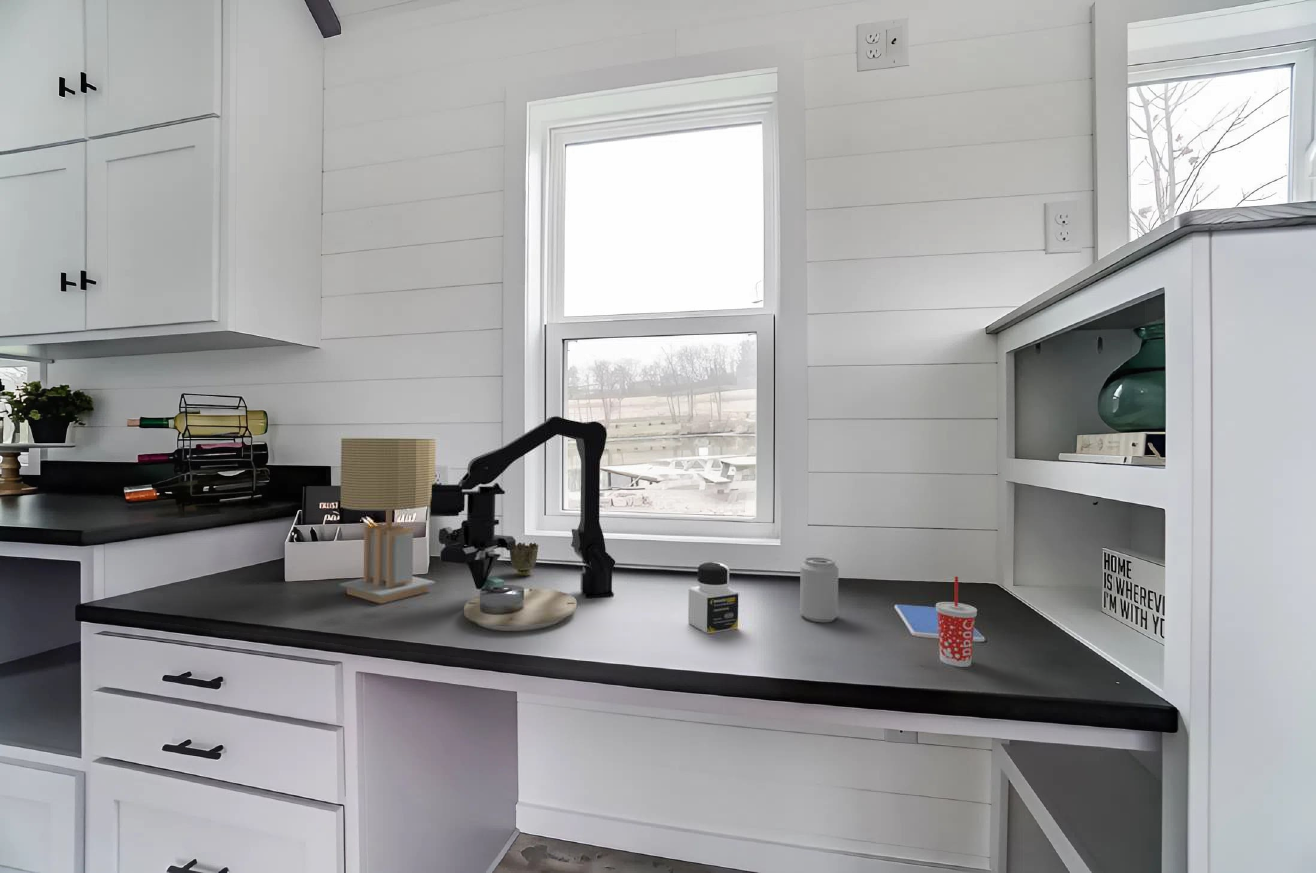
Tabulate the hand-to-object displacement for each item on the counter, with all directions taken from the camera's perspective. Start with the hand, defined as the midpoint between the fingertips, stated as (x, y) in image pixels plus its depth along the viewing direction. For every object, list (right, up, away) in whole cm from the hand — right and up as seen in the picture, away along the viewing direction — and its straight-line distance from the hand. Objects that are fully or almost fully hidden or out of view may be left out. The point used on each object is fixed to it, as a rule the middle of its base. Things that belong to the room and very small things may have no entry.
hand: (479, 588), depth 121 cm
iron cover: (+8, -1, -10) cm, 12 cm away
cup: (+3, -4, +27) cm, 27 cm away
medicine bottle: (+49, -5, -11) cm, 50 cm away
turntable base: (+11, -4, -6) cm, 13 cm away
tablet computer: (+94, -6, -7) cm, 94 cm away
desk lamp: (-24, -4, +9) cm, 26 cm away
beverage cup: (+87, -5, -27) cm, 92 cm away
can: (+71, -5, -5) cm, 71 cm away
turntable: (+11, -2, -6) cm, 12 cm away
